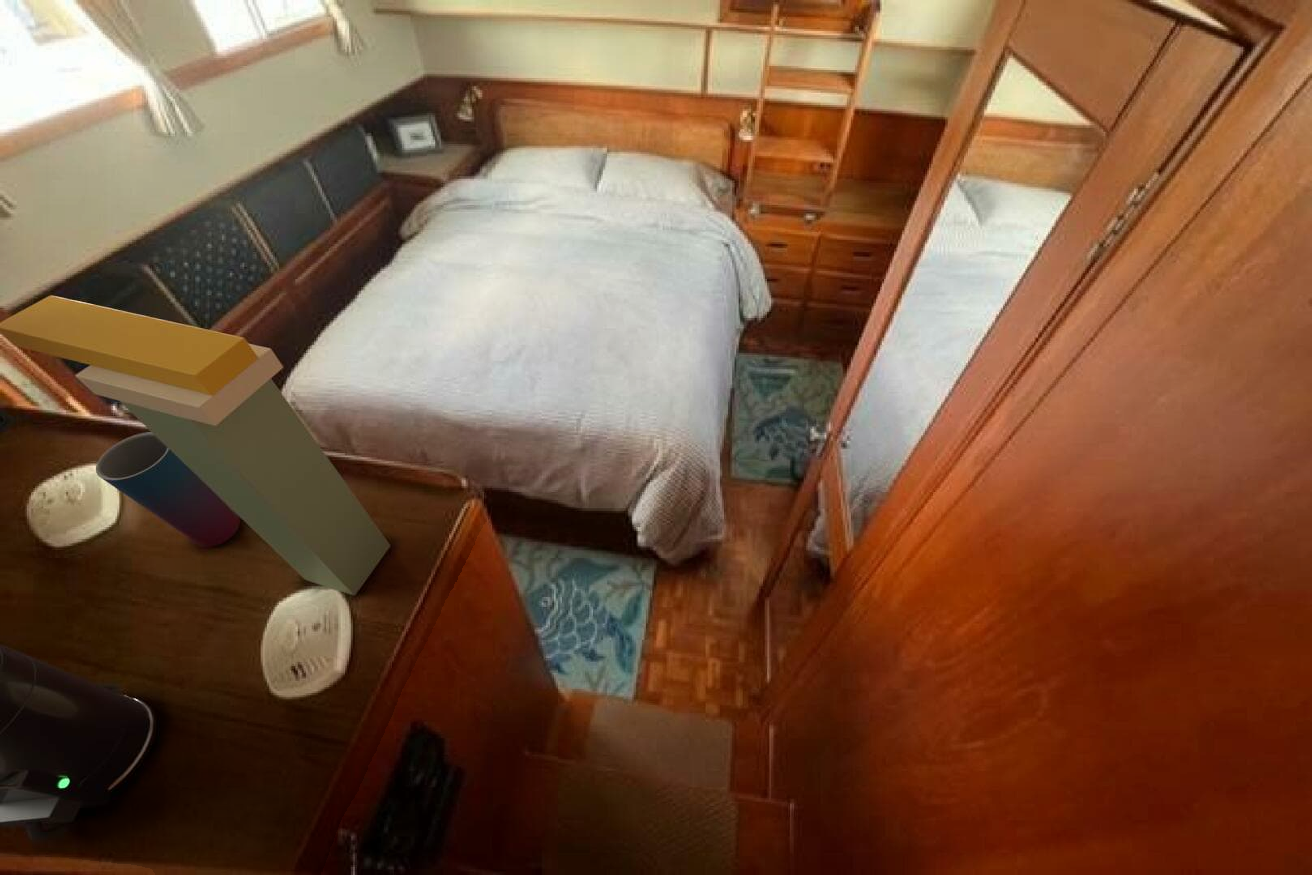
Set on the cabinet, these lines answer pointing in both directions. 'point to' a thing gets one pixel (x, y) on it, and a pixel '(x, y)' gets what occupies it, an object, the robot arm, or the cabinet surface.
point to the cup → (167, 489)
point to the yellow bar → (130, 343)
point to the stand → (259, 466)
